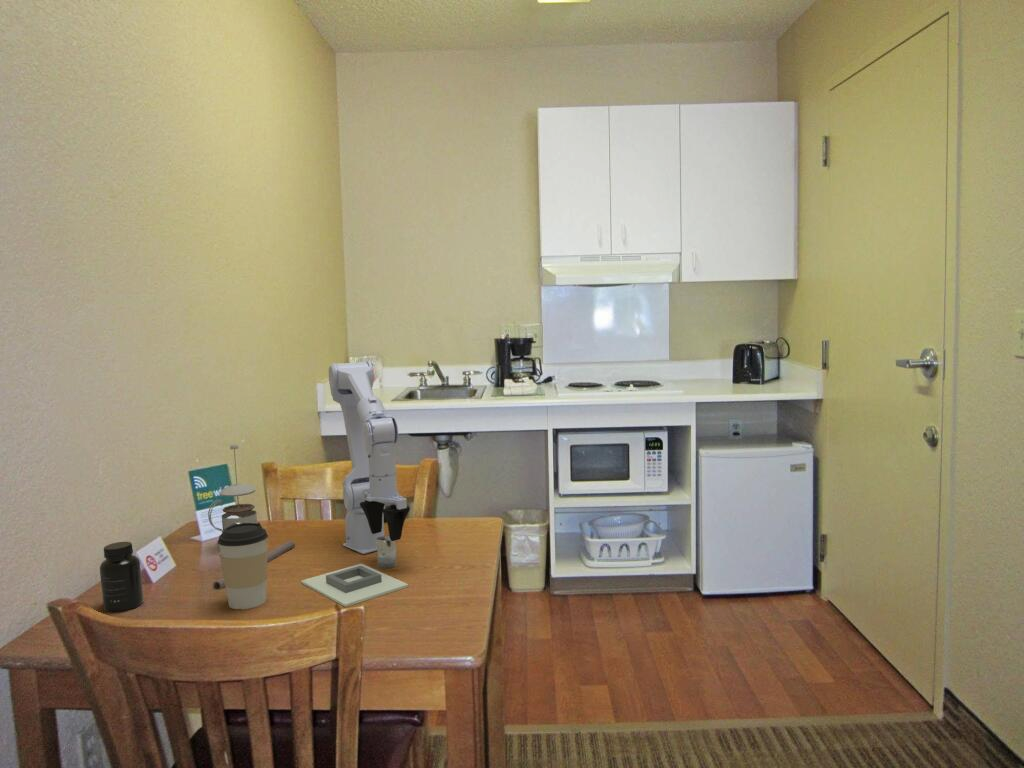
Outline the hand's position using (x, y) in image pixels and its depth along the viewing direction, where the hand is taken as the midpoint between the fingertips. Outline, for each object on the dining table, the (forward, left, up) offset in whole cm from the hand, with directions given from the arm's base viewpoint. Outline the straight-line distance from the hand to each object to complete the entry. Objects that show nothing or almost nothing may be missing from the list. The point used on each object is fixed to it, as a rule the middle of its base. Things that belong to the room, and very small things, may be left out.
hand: (385, 536), depth 160 cm
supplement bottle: (-18, -48, -7) cm, 51 cm away
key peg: (0, 0, -7) cm, 7 cm away
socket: (+5, -11, -7) cm, 14 cm away
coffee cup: (-2, -30, -7) cm, 31 cm away
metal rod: (-21, -20, -7) cm, 30 cm away
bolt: (-29, +16, -7) cm, 34 cm away
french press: (-37, -18, -7) cm, 42 cm away
